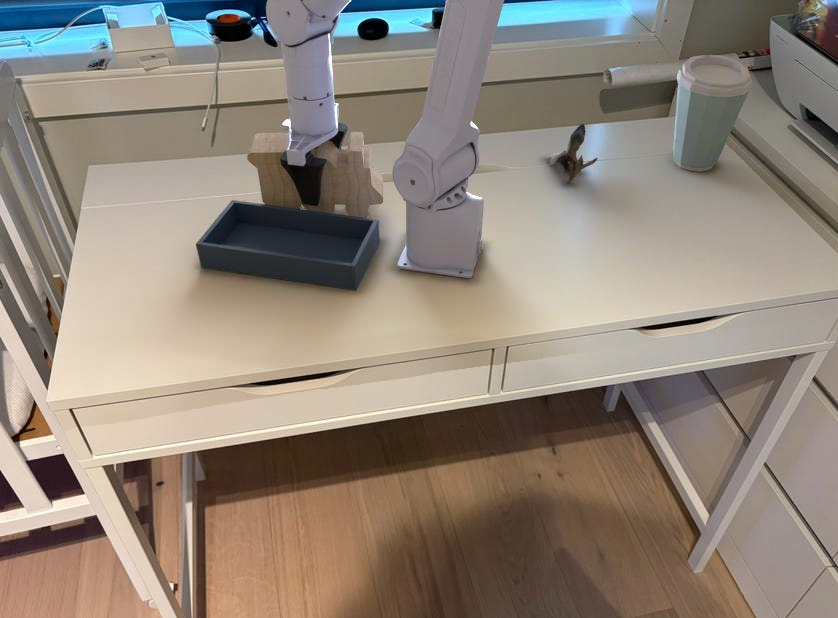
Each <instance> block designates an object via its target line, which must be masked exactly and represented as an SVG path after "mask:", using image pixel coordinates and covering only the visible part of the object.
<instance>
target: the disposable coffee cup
mask: <svg viewBox="0 0 838 618" xmlns="http://www.w3.org/2000/svg"><path fill="white" fill-rule="evenodd" d="M676 81H677V93H676V105H675V106H676V107H675V119H674V132H673V145H672V157H673V162H674V164H675V165H676V166H677V167H679V168H680V169H683V170H687V171H689V172H705V171H710V170H711V169H712V168H713V167H714V166H715V164H716V163H718V161H719V160H720V159H719V158H720V156H721V154H722V151H723V150H724V148H725V146H726V143H727V141H728V139H729V137H730V134H731V132H732V130H733V128H734V126H735V123H736V121H737V118H738V117H739V115H740V112H741V110H742V108H743V106H744V103H745V101H746V99H747V97H748V94H749V92H750V91H751V90H752V89H753V88H752V87H753V79H752V77H751V73H750V71H749V68H748V67H747V66H745V65H744V64H743V63H742V62H740V61H739V60H736V59H734V58H731V57H728V56H724V55H716V54H701V55H694V56H691V57H689V58H688V59H687V60H686V61H685V62H684V63H683V65H682V67H681V68H680V69H678V71H677V75H676Z"/></svg>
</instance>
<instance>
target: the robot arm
mask: <svg viewBox="0 0 838 618" xmlns="http://www.w3.org/2000/svg"><path fill="white" fill-rule="evenodd" d="M350 2H352V0H267V1H266V5H265V14H266V20H267V23H268V26H269V28H270V30H271V32H272V33H273V35H274V36H275V37H276V39H277V40H279V41H280V47H281V54H282V55H281V56H282V62H283V73H284V81H285V89H286V98H287V104H288V114H289V118H286V119H285V120H284V121H283V122H282V123H281V129H282V130H283V131H287V132H288V133H289V146H288V148H287V150H286V151H284V152H283V154H282V155H281V156H280V162H281V165H282V166H283V168H284V169H285V170H286V171H287V172H288V174H289V175H290V177H291V178H292V180H293V182H294V184H295V186H296V189H297V191H298V194H299V196H300V199H301V201H302V203H303V204H304V205H312V206H318V204H319V201H320V191H321V177H322V172H323V168H324V166H325V163H326V161H327V159H324V158H316V157H314V154H313V155H312V152H311V151H310V150H312V149H317V148H318V146H319V145H321V144H322V143H324V142H326V141H327V140H329V141H332V142H333V143H334V145H335V146H336V147H337V148H338V149H342V146H343V142H344V139H345V137H346V135H347V132H348V130H349V127H348V124H346V123H344V122H338V119H339V118H340V111H339V103H336V102H335V89H334V76H333V75H334V74H333V63H332V47H333V45H335V44H334V43H335V42H334V33H335V30H336V29H337V27H338V25H339V23H340V15H341V14H340V13H341V12H342V11H343V10H344V9H345V8H346V6H348V4H350ZM504 3H505V0H445V6H444V10H443V15H442V19H441V25H440V29H439V34H438V39H437V43H436V47H435V52H434V53H435V54H434V58H433V62H432V67H431V72H430V77H429V81H428V87H427V91H426V95H425V101H424V105H423V109H422V116H421V118H420V119H419V120H418V122H417V123H416V125H415V127H414V128H413V129H412V131H411V132H410V133H409V135H408V137H406V140H405V143H404V146H403V150H402V153H400V155H399V156H397V158H396V159H395V161H394V163H393V165H392V172H391V173H392V181H393V183H394V186H395V188H396V190H397V192H398V194H399V195H400V196H401V197H402V200H403V201H404V202H405V245H404V248H403V250H402V252H401V255H400V257H399V259H398V261H397V264H396V265H397V269H400V270H406V271H407V270H408V271H415V272H422V273H429V274H435V275H443V276H450V277H456V278H464V279H472V278H473V275H474V272H475V269H476V265H477V262H478V258H479V255H481V251H482V246H483V240H482V236H483V235H482V233H483V232H482V231H483V222H484V221H483V220H484V204H485V202H484V201H485V200H484V198H483V197H481V196H477V195H474V194H471V193H470V192H467V189H468V187H469V177H471V176H473V175H474V174H475V173H476V171H477V170H478V168H479V164H480V152H479V147H478V144H479V137H480V134H481V130H480V129H479V128H478V126H477V125H476V124H475V123H474V122H473V118H474V114H475V110H476V107H477V103H478V99H479V96H480V91H481V88H482V84H483V80H484V77H485V74H486V70H487V65H488V62H489V59H490V54H491V50H492V48H493V43H494V39H495V36H496V33H497V28H498V24H499V21H500V18H501V13H502V11H503V7H504Z"/></svg>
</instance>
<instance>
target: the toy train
mask: <svg viewBox="0 0 838 618" xmlns="http://www.w3.org/2000/svg"><path fill="white" fill-rule="evenodd" d="M288 146H289V132H255V133H254V134H253V135H252V138H251V142H250V145H249V148H248V152H247V157H246V160H247V161H248V162H249V163H250V164H251V165H252V166H254V168H256V169H257V175H258V183H259V189H260V194H261V201H262V204H267V205H274V206H281V207H289V208H296V209H302V208H301V207H303V208H304V210H311V211H319V212H326V213H334V211H335V207H336V205H340V206H341V205H342V206H344V207H345V211H346V213H347V214H348V215H349V216H356V217H363V218H366V216H367V215H368V214H369V208H370V206H373V205H382V204H383V203H384V178H383V175H382V173H380V172H379V171H378V170H377V169H376V168H375V166H374V165H373V162H372V150H371V148H370V147H365V141H364V132H363V131H350V132H349V133H348V140H347V149H345V148H341V149H338V148H337V147H336V146H335V145H334V143H333V142H332V141H329V140H327V141H326V142H324V143H322V144H321V145H319V146H318V148H317V149H312V150H310V151H311V152H312V155H313V154H314V157H316V158H324V159H327V161H326V163H325V166H324V168H323V172H322V177H321V191H320V201H319V204H318V206H312V205H304V204H303V203H302V201H301V199H300V196H299V194H298V191H297V189H296V186H295V184H294V182H293V180H292V178H291V177H290V175H289V174H288V172H287V171H286V170H285V169H284V168H283V166H282V165H281V162H280V156H281V155H282V154H283V152H284V151H286V150H287V148H288Z"/></svg>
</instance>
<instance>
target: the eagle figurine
mask: <svg viewBox="0 0 838 618" xmlns="http://www.w3.org/2000/svg"><path fill="white" fill-rule="evenodd" d="M586 132H587V131H586V126H585V123H580V124H579V125H578V126H577V127H576V128H575V130H573V132H572V133H571V134H570V137H569V140H568V143H567V146H566V150H562V151H561V152H559V151H558V152H554V153H551V154H549V155H548V156H547V157H545V158H544V161H545V162H546V164H548V165H550V166H553V165H556V164H557V163H559V164H560V165H561V166H562V168H563V170H564V171H563V173H564V174H567V175H568V177H567V181H566V184H567V185H570V184H571V182H572V181H573V180H574V178H576V175H578V173H580V174H582V173H583V171H582V170H583V169H585V168H587V167H590V166H592V165H594V164H595V163H596V162H597V160H599V158H598V157H595V158H593V159H591V160H590V161H588V162H586V163H584V158H583V155H582V154H581V155H580V157H579V158H577V152H578V151H579V149H580V147H581V146H582V145H583V143H584V141H585V137H586Z"/></svg>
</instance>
